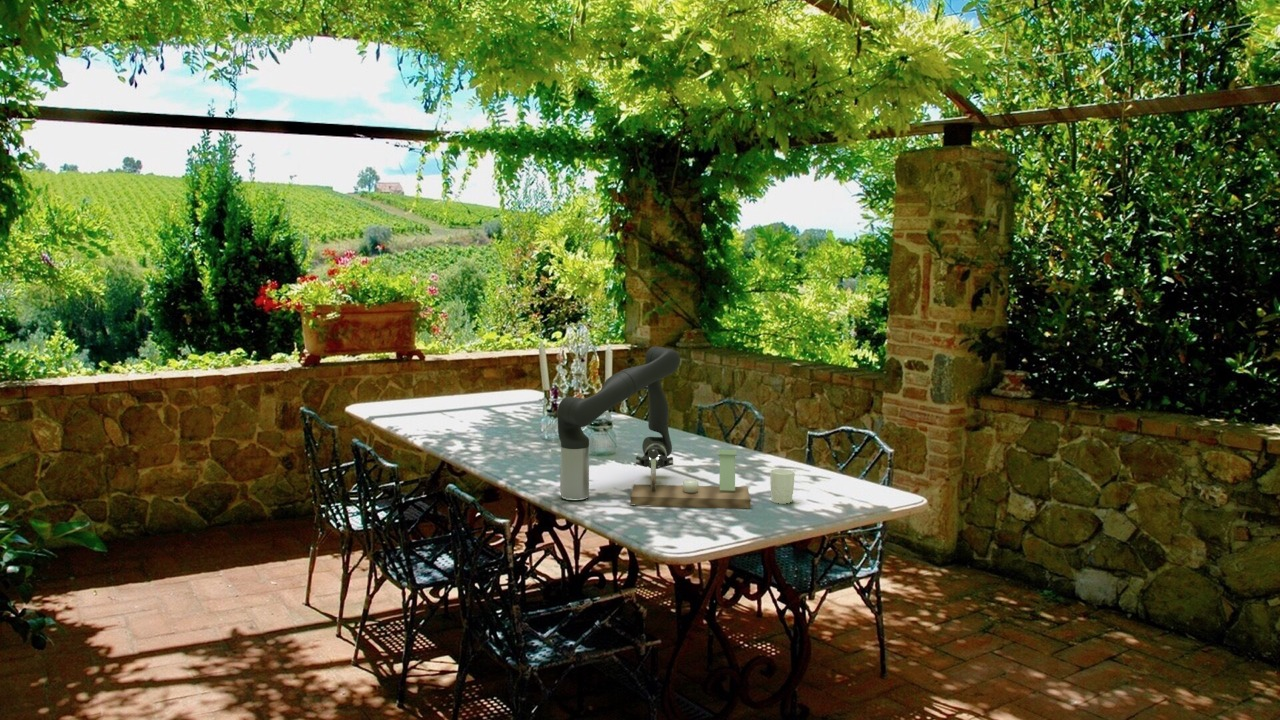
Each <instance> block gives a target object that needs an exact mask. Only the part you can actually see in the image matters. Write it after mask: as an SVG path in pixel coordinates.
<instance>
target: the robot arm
mask: <svg viewBox="0 0 1280 720" xmlns="http://www.w3.org/2000/svg"><path fill="white" fill-rule="evenodd" d="M680 363H681V356H680V355H679V353H678V352H677V351H676V350H674V349H672V348H668V347H662V346H658V345H657V346H651V347H650V348H649V349H648V350H647V351H646V353H645V358H644V364H642V365H641V364H640V365H635V366H632V367H627V368H624V369H622V370H620V371H618V372H616V373H614V374H612V375H611V376H610V377H608V378H607V379H606V380H605V382H604V383H603V385H602V387H601V389H600V390H599V391H598V392H596V393H594V394H592V395H591V396H589V397H586V398H581V397H574V396H565V397H564V398H563V399H561V401H560V402H559V405H558V407H557V431H558V432H557V433H558V434H557V435H558V438H559V441H560V469H559V470H560V471H559V473H560V474H559V482H560V483H559V485H560V486H559V488H560V489H559V493H561V496H563V497H566V498H572V499H580V498H586V497H588V496H589V497H590V439H589V437H588V436H587V435H586V434H585V433H584V432H583V430H582V428H583V427H587V426H589V425H591V424H592V423H593V422H594V421H596V420H597V419H599V417H600V416H602V415H603V414H604V413H606V412H607V411H609V410H610V409H612V408H613V407H616V406H617V405H618V404H620V403H621V402H623V401H626V400H627V399H629V398H630V397H633V396H634V395H635V394H637V393H638V392H640V391H641V390H643V389H645V388H647V392H648V393H647V395H648V421H647V422H648V429H649V430H650V431H652V432H656V433H659V434H660V435H661V436H647V437H645V438H644V439H643V441H642V444H641V445H642V446H641V447H642V448H641V449H642V452H643V454H644V455H642V456H638V455H637V456H635V465H637V466H641V467H644V468H647V467H648V468H649V469H651V458H650V457H649V455H648V453H649V451H650V450H651V449H656V450H657V451H658V457H657V458H656V470H659V469H661V468H665V467H670V466H673V464H674V457H673V456H670V455H671V454H672V451H673V445H672V440H671V438H670V433H669V414H670V413H669V410H670V409H669V404H668V400H667V397H666V395H665V392H664V389H663V386H662V381H661V379H665V378H666V377H668V376H671V375H672V374H674V373H675V372H676V371H677V370H678V368H679V366H680ZM561 496H560V497H561Z"/></svg>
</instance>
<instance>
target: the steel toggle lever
mask: <svg viewBox="0 0 1280 720" xmlns="http://www.w3.org/2000/svg"><path fill="white" fill-rule="evenodd" d="M648 455H649V457H650V458H651V468H650V485H651V490H652V491H655V490H656V485H657V469H656V458H657V457H658V451H657V450H656V449H651V450H650V451H649V453H648Z"/></svg>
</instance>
